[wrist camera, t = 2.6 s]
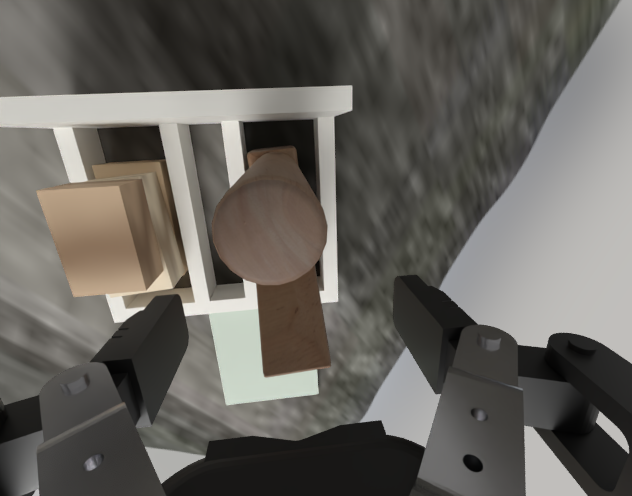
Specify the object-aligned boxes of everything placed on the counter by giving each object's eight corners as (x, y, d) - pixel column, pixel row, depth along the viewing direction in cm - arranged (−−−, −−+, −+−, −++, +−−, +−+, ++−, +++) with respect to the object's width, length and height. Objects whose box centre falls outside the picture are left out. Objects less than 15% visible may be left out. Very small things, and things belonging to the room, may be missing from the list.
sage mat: (209, 304, 30) (207, 308, 29) (312, 295, 30) (313, 298, 30) (227, 400, 34) (226, 405, 33) (317, 389, 35) (318, 394, 34)
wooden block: (271, 268, 29) (258, 451, 12) (250, 149, 25) (190, 178, 8) (309, 263, 29) (349, 435, 12) (294, 144, 26) (322, 162, 9)
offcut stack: (110, 162, 25) (22, 175, 16) (175, 158, 25) (122, 170, 17) (138, 266, 28) (76, 323, 19) (195, 261, 28) (158, 315, 20)
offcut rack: (75, 112, 23) (-43, 98, 15) (327, 102, 25) (352, 85, 16) (130, 304, 29) (68, 374, 20) (332, 286, 30) (352, 344, 22)
